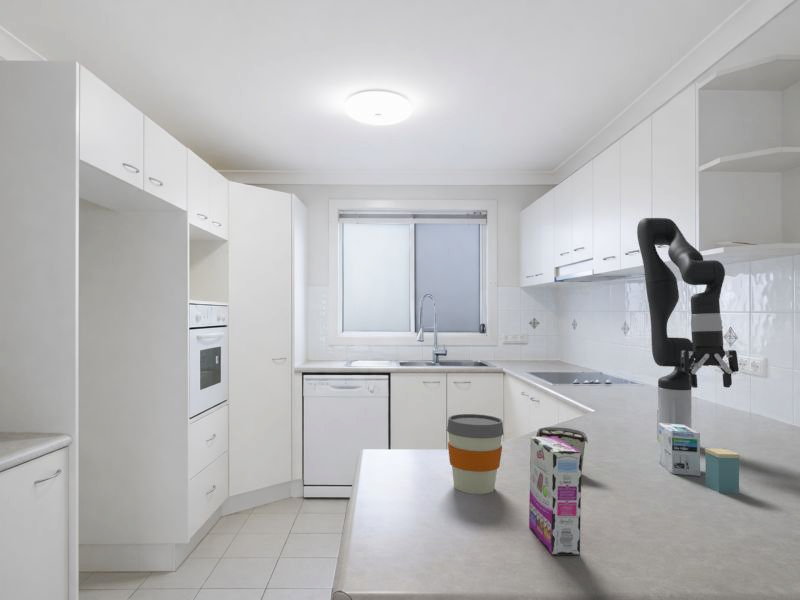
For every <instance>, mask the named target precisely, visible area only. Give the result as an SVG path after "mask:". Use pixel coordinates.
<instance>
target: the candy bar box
mask: <svg viewBox="0 0 800 600" xmlns="http://www.w3.org/2000/svg"><path fill="white" fill-rule="evenodd" d="M529 459H530V460H529V464H530V465H529V467H530V468H529V469H530V470H529V506H528V507H529V508H528V509H529V512H528V513H529V517H528V518H529V519H528V527H529V528H530V530H531V531H532V532H533V533H534V534H535V536H536V537H537V538H538V539H539V540H540V541H541V543H542V544H543V546H545V547H546V548H547V550H548V551H549V552H550V554H551V556H552V555H553V556H577V555H578V556H579V555H581V513H582V510H581V509H582V508H581V505H582V504H581V503H582V502H581V499H582V473H581V462H582V460H581V459H582V452H580V451H578V450H576V449H575V448H573V447H571V446H569V445H568V444H566V443H564V442H562V441H561V440H559V439H557V438H555V437H539V436H538V437H536V436H531V437H530V457H529Z"/></svg>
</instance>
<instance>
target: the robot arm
mask: <svg viewBox="0 0 800 600" xmlns="http://www.w3.org/2000/svg"><path fill="white" fill-rule="evenodd" d="M636 227H637V228H636V229H637V230H636V235H637V241H638V242H637V243H638V246H639V250H640V254H641V258H642V265H643V271H644V278H645V281H644V282H645V289H646V297H647V303H648V310H649V317H650V319H649V320H650V334H651V352H652V353H651V354H652V358H653V361H654V363H655V364H656V365H657V366H659V367H671V368H672V367H673V368H674V369H673V371H672V372H670V373H669V374H666V375H665V376H661V377H659V378H658V380H657V402H658V403H657V411H656V413H657V414H656V439H657V441H658V443H659V423H667V424H681V425H685V426H687V427H689V428H691V429H692V426H693V425H692V409H693V408H692V403H693V402H692V388H694V389H697V388H698V376H697V372H698V371H699V369H701V368H702V367H708V366H711V367H712V366H713V367H717V368H719V369H720V371H722V383H723V388H726V389H727V388H728V389H729V388H731V386H732V384H733V381H732V374H733V373H737V372H738V371H740V369H739V360H738V354H737V351H736V350H735V349H728V350H725V349H724V333H723V328H724V326H723V321H722V315H721V308H720V307H721V306H720V300H721V299H720V297H721V293H722V289H723V284H724V281H725V277H726V270H725V267H724V265H723V264H722V262H720V261H719V260H717V259H716V260H715V259H713V260H711V259H710V260H704V257H703V255H702V253H701V252H700V251H699V250H698V249H696V248H695V247H694V246H693V245H692V244H691V243H689V241H687V239H686V238H685V235H684V234H683V233H682V231H681V230H680V229H679V227H678V226H677V224H676V223H675V222H674V221H673V220H672V219H670V218H666V217H645V218H641V219H640V220H639V222H638V224H637V226H636ZM663 245H665V246H668V250H667V252H668V253H667V254H668V258H669V259H670V261H671V262H672V263H674V265H675V266H677V268H678V269H679V273H680V275H681V279H682V280H683V282H684V283H686V284H687V285H690V286H705V289H704V291H703V292H699V293H694V294H692V295H691V297H690V313H691V315H690V317H691V319H690V327H691V328H690V329H691V331H690V332H691V340H690V338H686V337H670V336H669V337H668V322H669V319H670V317H671V316H672V313H673V311H674V310H675V309H676V306H677V304H678V302H679V299H680V292H679V291H680V290H679V286H678V280H677V277H676V275H675V274H674V272H673V270H671V268H670V267H669V266H668V265H667V264H666V262H664V260H663V259H662V258H661V257H660V255H659V253H658V251H657V248H656V246H663ZM724 357H726V358H727V360H728V364H727V363H726V362H725V360H724ZM692 430H693V429H692Z"/></svg>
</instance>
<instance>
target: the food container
mask: <svg viewBox="0 0 800 600" xmlns="http://www.w3.org/2000/svg"><path fill="white" fill-rule="evenodd" d="M535 437H555V438H557V439H559V440H561V441H562V442H564V443H566V444H568V445H569V446H571V447H573V448H575V449H576V450H578V451H580V452H582V459H581V460H582V462H581V474H582V472H583V465H584V462H583V461H584V457H585V456H584V453H585V447H586V446H585V445H586V443H587V445H588V444H589V443H588V442H589V441H588V437H587V434H586V432H584V431H581V430H578V429H574V428H568V427H560V426H558V427H557V426H547V427H540V428H538V430H537V432H536V435H535Z"/></svg>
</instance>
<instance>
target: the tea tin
mask: <svg viewBox="0 0 800 600" xmlns="http://www.w3.org/2000/svg"><path fill="white" fill-rule="evenodd" d="M704 453H705V487H707V486H708V487H707V488H709V489H711V490H712V489H713V490H712V491H714V490H715V492H716V491H717V492H716V493H718V492H719V494H740V458H741V454H739V453H737V452H735V451H732V450H729V449H726V448H705V447H704Z"/></svg>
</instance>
